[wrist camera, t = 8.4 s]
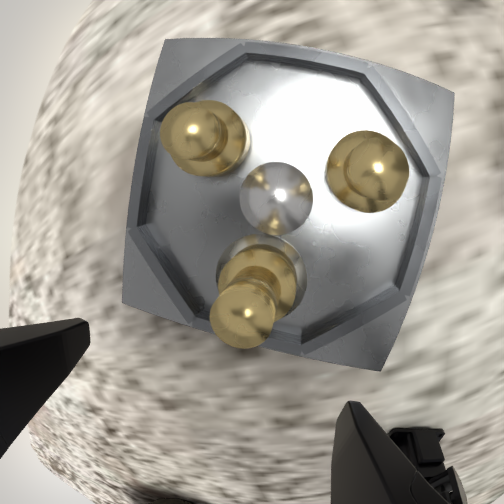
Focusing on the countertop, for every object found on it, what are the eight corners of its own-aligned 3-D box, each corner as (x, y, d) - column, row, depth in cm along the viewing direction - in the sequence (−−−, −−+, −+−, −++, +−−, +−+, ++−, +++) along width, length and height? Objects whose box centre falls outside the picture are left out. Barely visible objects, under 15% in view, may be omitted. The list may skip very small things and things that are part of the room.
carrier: (377, 362, 19) (392, 412, 14) (130, 297, 22) (87, 326, 17) (447, 97, 14) (487, 73, 9) (172, 45, 17) (133, 12, 11)
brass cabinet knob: (287, 318, 19) (277, 372, 13) (222, 301, 19) (188, 347, 13) (304, 253, 17) (302, 287, 12) (233, 236, 18) (199, 261, 12)
